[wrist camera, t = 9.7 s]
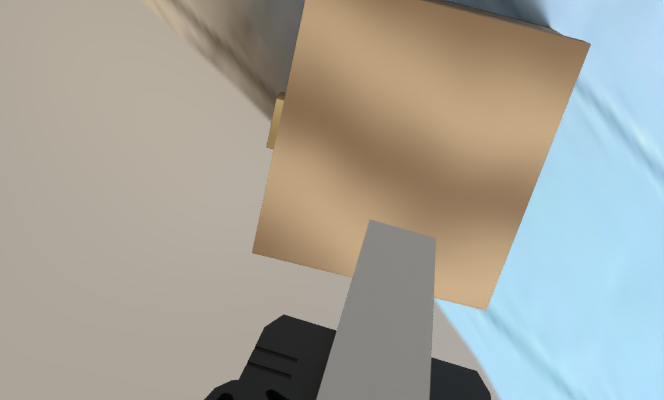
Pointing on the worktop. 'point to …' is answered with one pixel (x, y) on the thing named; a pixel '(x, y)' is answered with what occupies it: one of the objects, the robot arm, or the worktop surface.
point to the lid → (412, 135)
